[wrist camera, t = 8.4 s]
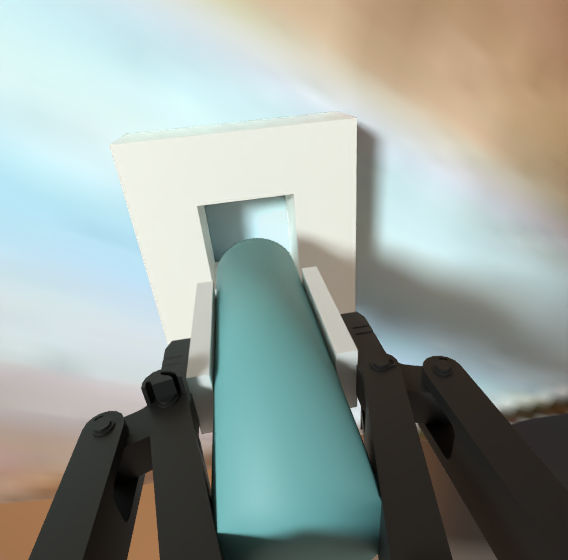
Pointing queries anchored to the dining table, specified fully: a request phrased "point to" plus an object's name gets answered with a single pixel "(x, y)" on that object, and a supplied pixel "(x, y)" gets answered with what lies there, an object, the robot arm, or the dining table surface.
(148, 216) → the socket block
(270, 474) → the peg
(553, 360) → the dining table surface
